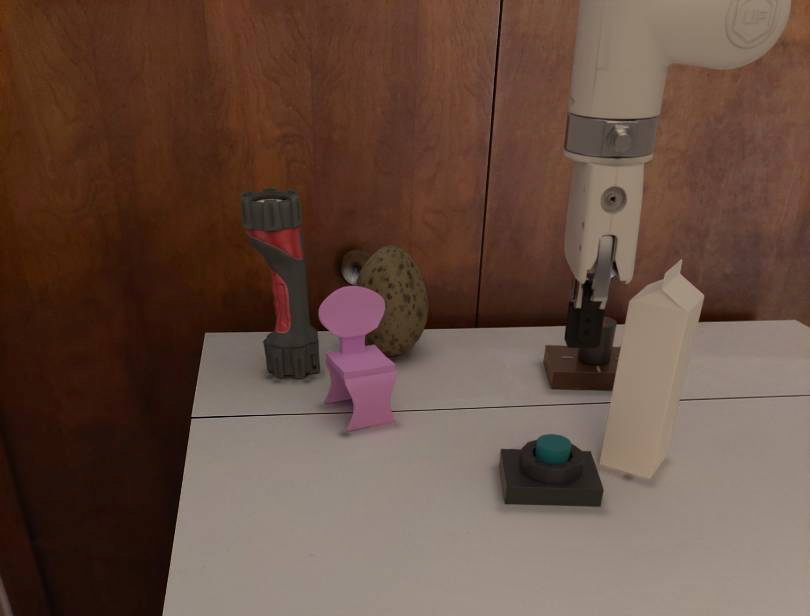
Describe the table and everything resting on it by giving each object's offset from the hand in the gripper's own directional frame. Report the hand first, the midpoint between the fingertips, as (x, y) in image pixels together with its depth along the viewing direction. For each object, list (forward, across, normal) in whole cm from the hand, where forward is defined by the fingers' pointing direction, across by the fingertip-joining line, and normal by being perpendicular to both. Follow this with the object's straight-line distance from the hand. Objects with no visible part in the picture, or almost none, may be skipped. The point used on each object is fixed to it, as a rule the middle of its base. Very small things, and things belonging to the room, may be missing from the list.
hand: (581, 344), depth 78 cm
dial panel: (+16, +28, -8) cm, 33 cm away
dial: (+13, +28, -8) cm, 32 cm away
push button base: (+16, -1, +2) cm, 16 cm away
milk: (+16, +5, -9) cm, 19 cm away
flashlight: (+15, +27, +34) cm, 46 cm away
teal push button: (+12, -1, +2) cm, 12 cm away
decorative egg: (+16, +34, +20) cm, 43 cm away
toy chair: (+16, +15, +23) cm, 32 cm away
